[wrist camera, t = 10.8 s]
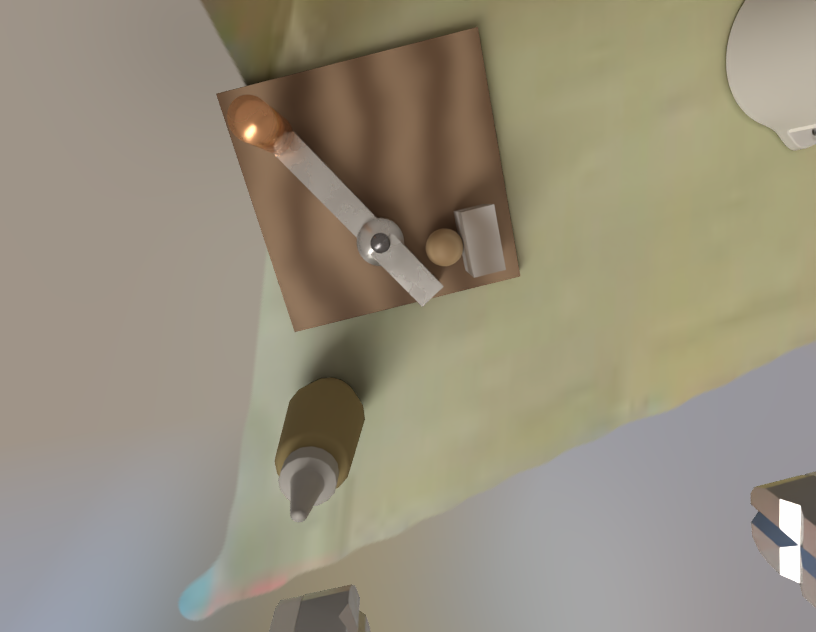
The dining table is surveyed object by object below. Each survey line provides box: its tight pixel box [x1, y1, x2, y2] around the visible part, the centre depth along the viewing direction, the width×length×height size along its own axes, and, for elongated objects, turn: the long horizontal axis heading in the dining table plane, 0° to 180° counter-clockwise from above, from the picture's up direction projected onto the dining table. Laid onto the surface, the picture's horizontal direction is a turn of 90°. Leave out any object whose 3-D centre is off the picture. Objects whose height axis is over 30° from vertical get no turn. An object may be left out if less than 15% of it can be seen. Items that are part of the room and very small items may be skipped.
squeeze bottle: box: [275, 377, 365, 522], centre depth 39 cm, size 8×8×18 cm
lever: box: [227, 94, 444, 307], centre depth 37 cm, size 4×22×9 cm, turn 44°
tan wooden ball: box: [426, 228, 463, 266], centre depth 41 cm, size 4×4×4 cm
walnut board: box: [217, 27, 520, 332], centre depth 39 cm, size 24×23×6 cm
